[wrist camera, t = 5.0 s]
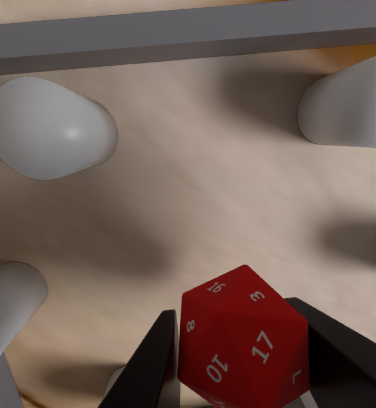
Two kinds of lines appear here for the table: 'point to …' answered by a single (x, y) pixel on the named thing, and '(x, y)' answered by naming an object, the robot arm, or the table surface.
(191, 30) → the spacer field
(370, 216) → the table surface
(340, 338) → the robot arm
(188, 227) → the table surface
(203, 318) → the die
